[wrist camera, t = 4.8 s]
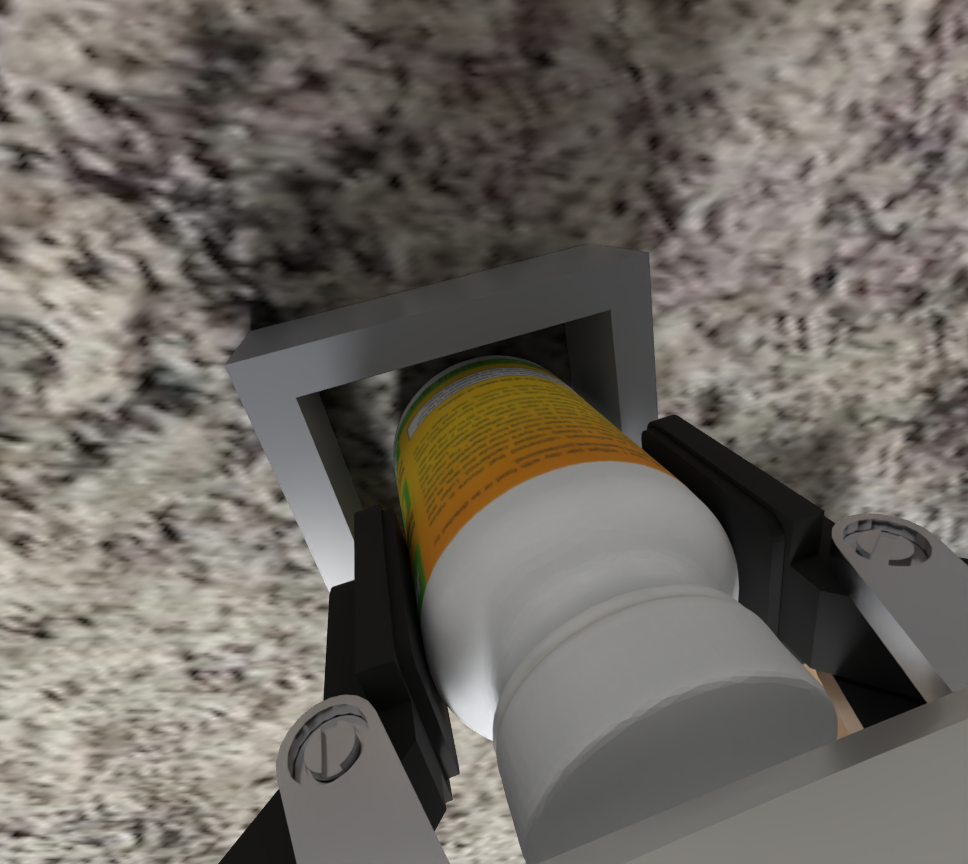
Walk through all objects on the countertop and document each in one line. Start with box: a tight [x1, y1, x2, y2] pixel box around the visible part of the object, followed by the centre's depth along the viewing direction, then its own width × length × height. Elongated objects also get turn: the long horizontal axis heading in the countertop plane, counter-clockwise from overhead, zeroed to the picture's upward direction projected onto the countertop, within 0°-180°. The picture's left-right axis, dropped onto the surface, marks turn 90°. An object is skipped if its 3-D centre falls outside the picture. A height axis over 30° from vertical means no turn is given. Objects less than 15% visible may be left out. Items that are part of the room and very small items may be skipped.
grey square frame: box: [225, 244, 658, 592], centre depth 14 cm, size 9×9×3 cm
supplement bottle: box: [393, 355, 838, 864], centre depth 10 cm, size 5×5×10 cm
